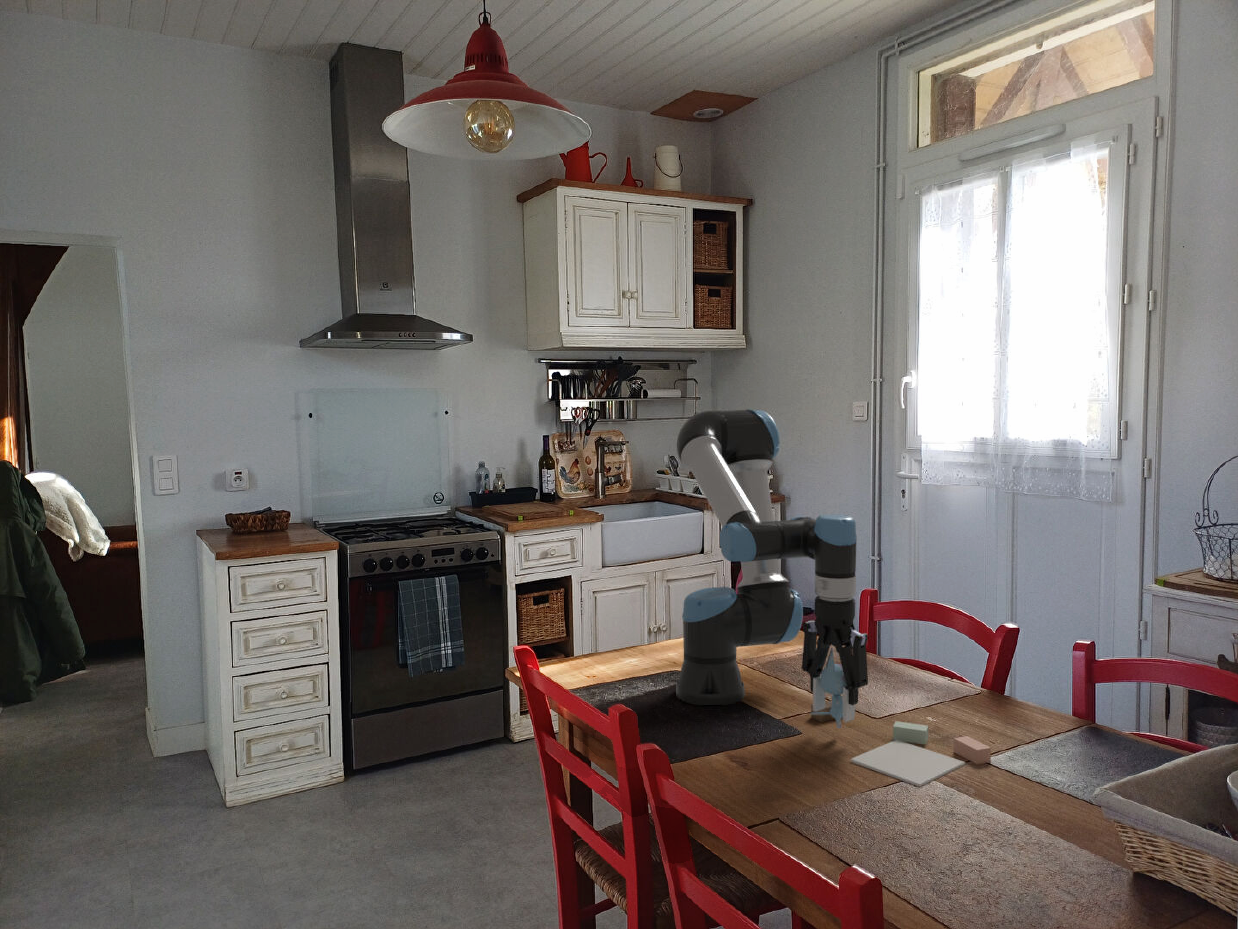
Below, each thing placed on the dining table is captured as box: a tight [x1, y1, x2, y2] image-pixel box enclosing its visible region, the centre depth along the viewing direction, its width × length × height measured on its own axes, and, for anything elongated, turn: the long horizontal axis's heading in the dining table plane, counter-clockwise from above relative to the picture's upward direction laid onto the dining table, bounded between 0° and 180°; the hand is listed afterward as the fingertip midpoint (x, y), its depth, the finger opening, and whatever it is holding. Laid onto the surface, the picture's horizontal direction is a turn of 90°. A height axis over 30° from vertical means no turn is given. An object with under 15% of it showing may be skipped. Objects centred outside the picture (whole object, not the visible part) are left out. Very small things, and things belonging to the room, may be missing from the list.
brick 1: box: [810, 699, 843, 723], centre depth 184 cm, size 6×3×3 cm, turn 115°
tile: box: [850, 740, 966, 787], centre depth 160 cm, size 14×14×1 cm
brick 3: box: [953, 735, 992, 765], centre depth 162 cm, size 6×3×3 cm, turn 20°
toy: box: [809, 647, 847, 729], centre depth 173 cm, size 7×6×15 cm
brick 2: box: [892, 720, 929, 746], centre depth 171 cm, size 6×3×3 cm, turn 64°
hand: (833, 714), depth 173 cm, fingers closed on toy, 6 cm apart
